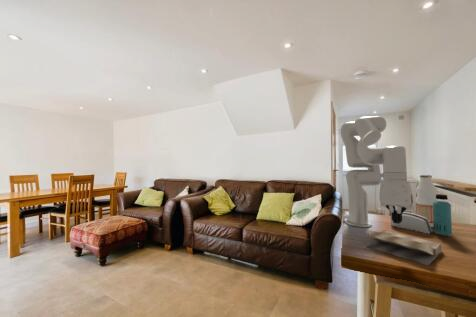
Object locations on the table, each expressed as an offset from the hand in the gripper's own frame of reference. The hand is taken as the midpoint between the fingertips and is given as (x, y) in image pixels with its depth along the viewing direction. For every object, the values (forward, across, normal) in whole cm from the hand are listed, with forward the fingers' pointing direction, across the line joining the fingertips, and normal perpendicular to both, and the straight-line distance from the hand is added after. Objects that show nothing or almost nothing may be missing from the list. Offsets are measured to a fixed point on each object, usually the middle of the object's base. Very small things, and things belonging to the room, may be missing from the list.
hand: (397, 222), depth 81 cm
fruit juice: (+12, -4, +53) cm, 55 cm away
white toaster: (+12, -7, +39) cm, 41 cm away
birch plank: (+9, -1, +2) cm, 10 cm away
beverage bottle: (+12, +5, +38) cm, 41 cm away
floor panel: (+12, -1, +6) cm, 14 cm away
